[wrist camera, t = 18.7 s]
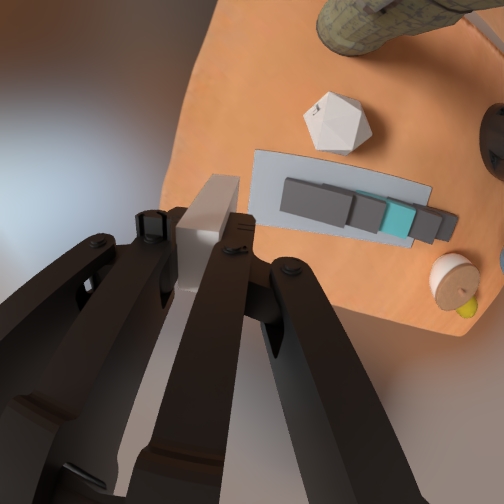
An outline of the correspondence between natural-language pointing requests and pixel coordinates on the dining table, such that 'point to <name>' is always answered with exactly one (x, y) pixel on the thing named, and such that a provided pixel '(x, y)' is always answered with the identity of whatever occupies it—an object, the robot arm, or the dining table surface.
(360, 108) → the die
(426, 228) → the domino
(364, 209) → the domino
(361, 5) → the thermos
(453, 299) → the lidded jar
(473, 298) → the lemon
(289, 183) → the domino
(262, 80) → the dining table surface
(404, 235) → the teal domino
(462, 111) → the dining table surface
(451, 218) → the domino
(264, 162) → the mat
